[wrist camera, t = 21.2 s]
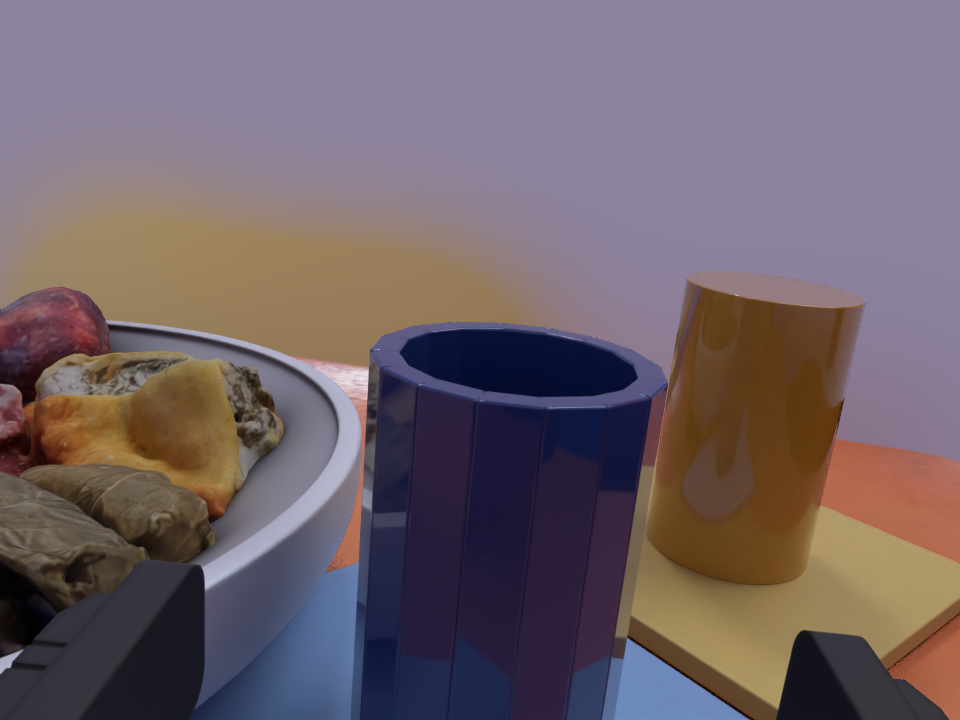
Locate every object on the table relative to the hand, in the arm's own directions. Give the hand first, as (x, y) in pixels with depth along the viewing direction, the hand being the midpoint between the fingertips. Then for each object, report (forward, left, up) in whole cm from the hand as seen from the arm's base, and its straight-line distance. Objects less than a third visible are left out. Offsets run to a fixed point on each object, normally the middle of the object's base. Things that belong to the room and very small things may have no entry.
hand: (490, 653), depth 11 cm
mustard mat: (+8, -20, -8) cm, 23 cm away
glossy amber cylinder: (+8, -20, -8) cm, 23 cm away
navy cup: (+5, -5, -8) cm, 10 cm away
